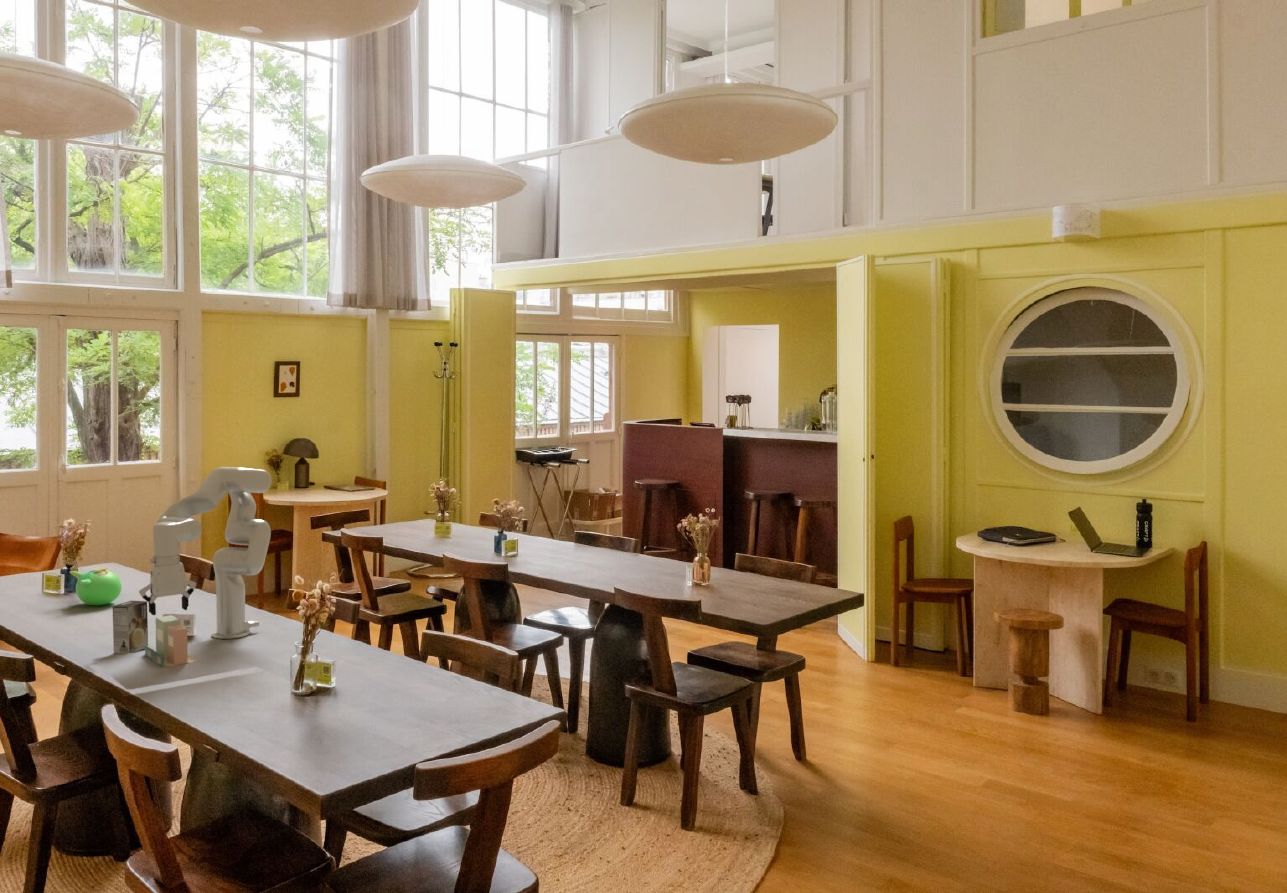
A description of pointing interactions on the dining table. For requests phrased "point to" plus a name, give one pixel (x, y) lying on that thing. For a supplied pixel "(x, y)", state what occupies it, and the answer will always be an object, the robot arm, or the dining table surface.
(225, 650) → the dining table surface
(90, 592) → the green teapot
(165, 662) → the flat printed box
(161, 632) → the sage carton
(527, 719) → the dining table surface
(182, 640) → the terracotta carton
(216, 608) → the robot arm
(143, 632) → the coffee box
